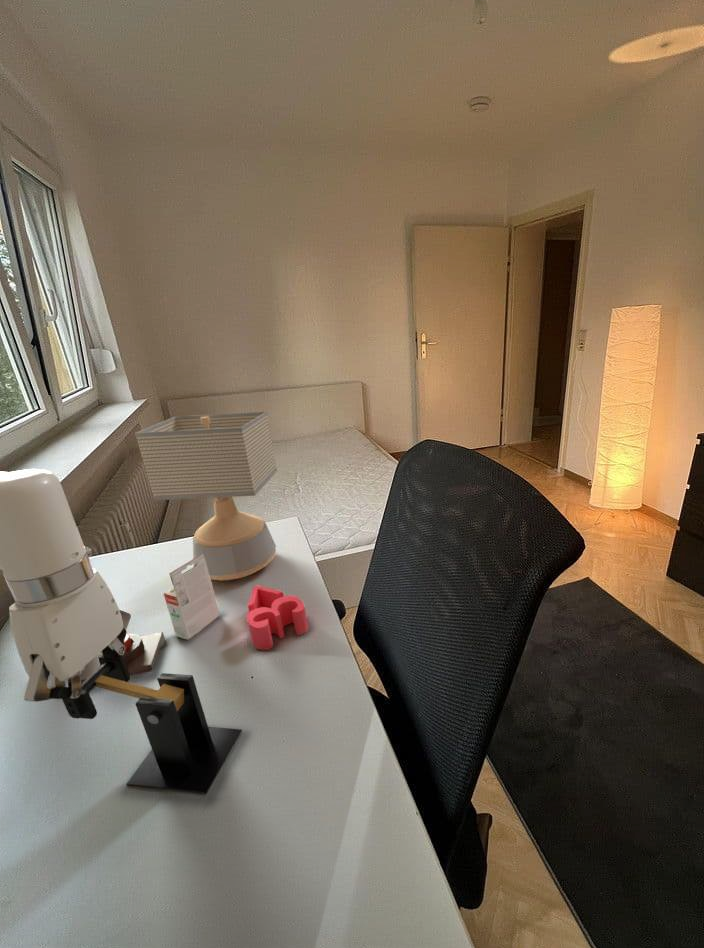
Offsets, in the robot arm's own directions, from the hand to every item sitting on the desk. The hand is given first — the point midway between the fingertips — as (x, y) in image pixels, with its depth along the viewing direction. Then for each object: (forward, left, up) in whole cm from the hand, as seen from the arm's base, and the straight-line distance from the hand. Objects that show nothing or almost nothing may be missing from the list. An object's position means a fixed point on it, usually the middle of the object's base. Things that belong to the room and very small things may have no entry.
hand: (102, 696), depth 57 cm
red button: (-5, +20, -7) cm, 22 cm away
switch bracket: (+9, -4, -11) cm, 14 cm away
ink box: (+6, +27, -11) cm, 30 cm away
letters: (+20, +23, -11) cm, 32 cm away
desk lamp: (+12, +49, -11) cm, 52 cm away
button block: (-5, +20, -11) cm, 23 cm away
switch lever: (+4, -2, 0) cm, 5 cm away
